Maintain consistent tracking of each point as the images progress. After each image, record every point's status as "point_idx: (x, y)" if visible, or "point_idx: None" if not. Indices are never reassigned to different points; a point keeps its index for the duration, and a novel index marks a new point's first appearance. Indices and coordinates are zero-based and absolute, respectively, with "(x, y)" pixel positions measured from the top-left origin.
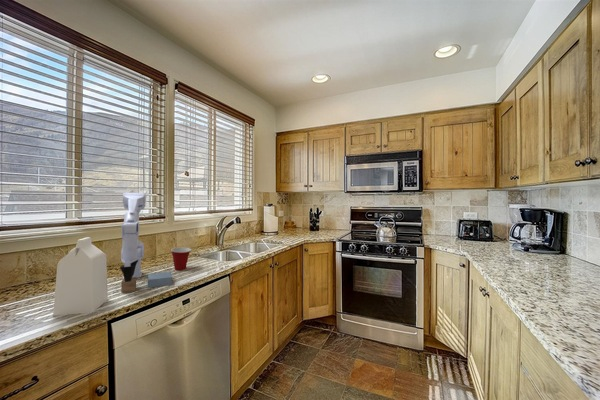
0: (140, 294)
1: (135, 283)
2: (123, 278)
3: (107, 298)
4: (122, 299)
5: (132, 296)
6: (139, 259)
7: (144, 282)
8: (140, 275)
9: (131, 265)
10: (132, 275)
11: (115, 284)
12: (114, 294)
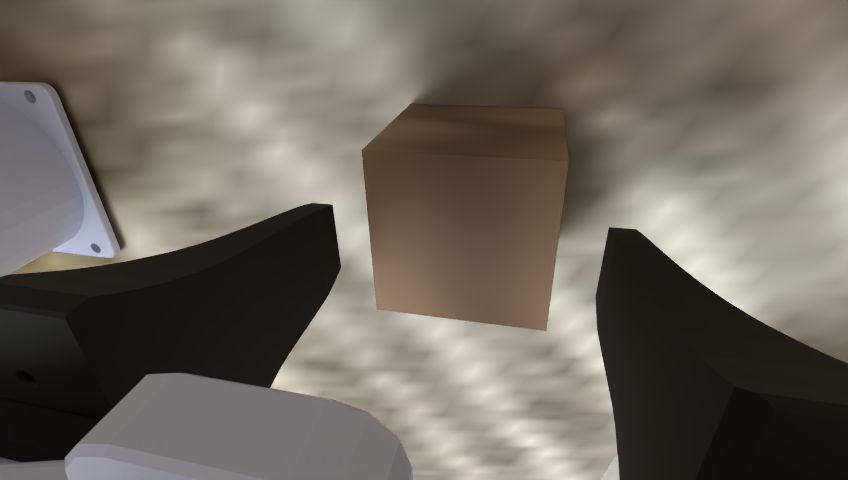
0: (784, 17)
1: (513, 133)
2: (390, 308)
3: None
4: (827, 225)
5: (794, 122)
6: (390, 439)
7: (235, 15)
8: (2, 91)
9: (219, 355)
10: (327, 217)
11: None
12: (568, 296)
